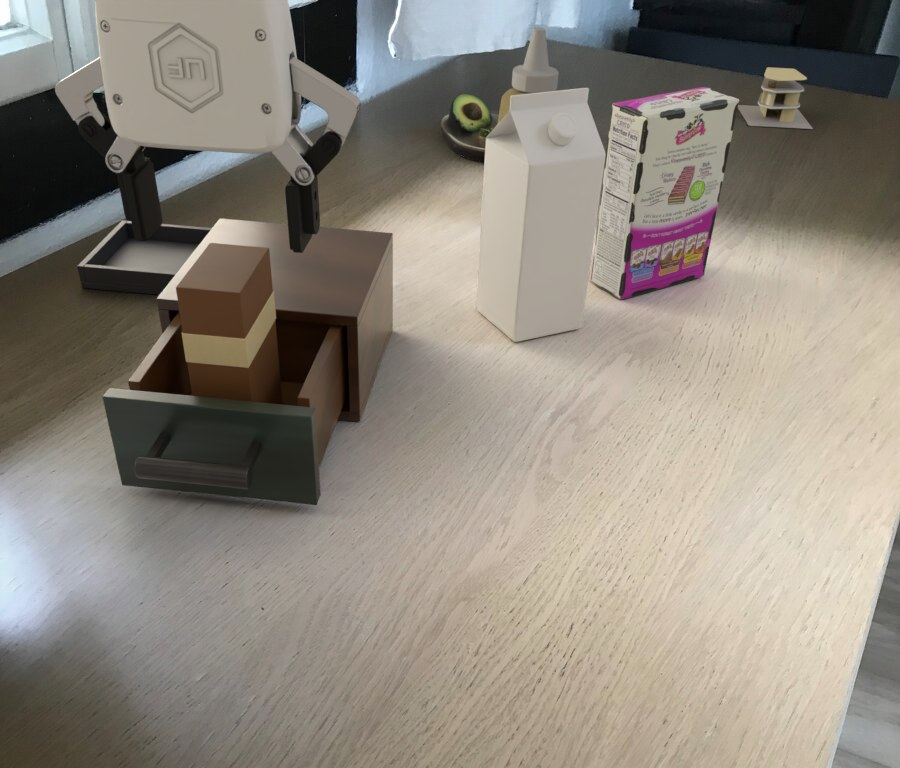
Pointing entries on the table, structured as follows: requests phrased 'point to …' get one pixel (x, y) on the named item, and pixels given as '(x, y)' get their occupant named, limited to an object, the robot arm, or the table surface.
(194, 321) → the block
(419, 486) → the table surface
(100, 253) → the tray
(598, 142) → the milk carton
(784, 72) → the stacked layers on plate
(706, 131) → the candy bar box
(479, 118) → the salad plate
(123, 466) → the drawer
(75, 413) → the table surface
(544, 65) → the squeeze bottle
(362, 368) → the cabinet
